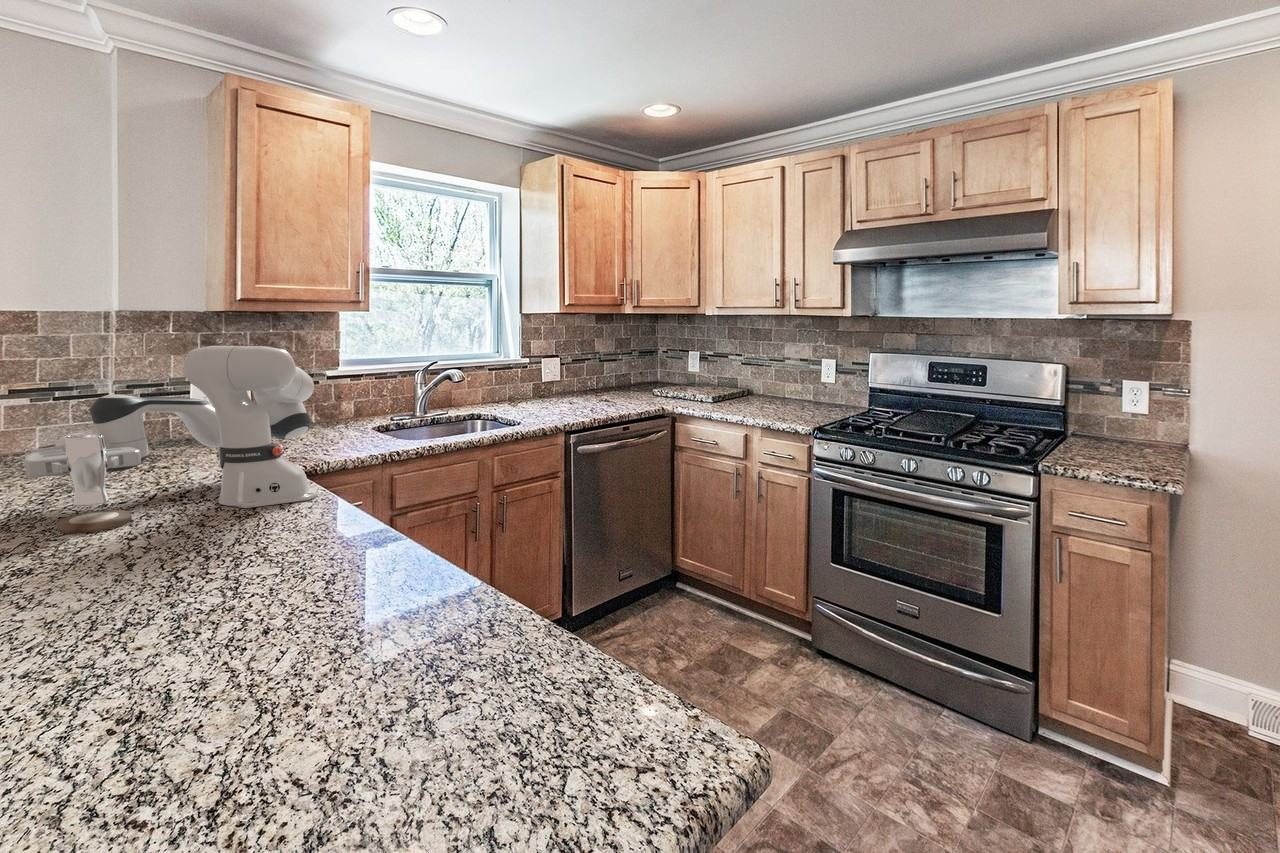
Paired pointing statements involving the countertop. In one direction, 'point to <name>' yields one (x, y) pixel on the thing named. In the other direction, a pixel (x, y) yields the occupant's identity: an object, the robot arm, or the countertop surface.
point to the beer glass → (87, 468)
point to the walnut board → (93, 521)
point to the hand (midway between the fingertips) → (87, 466)
